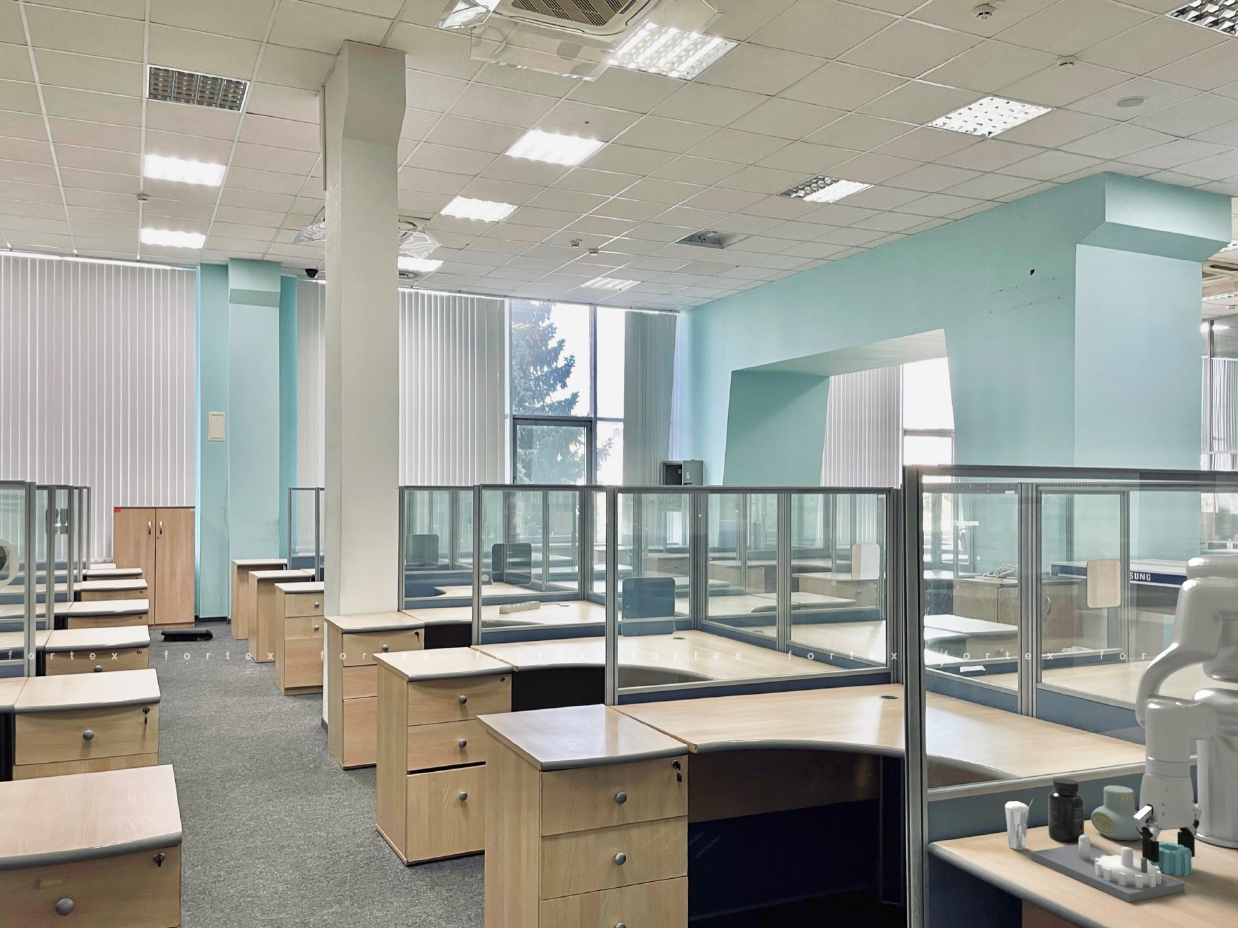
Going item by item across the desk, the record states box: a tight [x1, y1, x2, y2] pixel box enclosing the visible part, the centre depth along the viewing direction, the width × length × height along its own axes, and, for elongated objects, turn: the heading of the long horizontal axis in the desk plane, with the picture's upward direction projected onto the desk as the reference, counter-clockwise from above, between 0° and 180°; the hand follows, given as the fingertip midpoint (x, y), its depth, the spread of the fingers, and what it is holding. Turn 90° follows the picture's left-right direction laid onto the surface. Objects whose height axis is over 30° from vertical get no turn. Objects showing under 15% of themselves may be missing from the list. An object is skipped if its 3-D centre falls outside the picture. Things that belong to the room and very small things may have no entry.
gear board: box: [1030, 834, 1185, 903], centre depth 179 cm, size 14×22×6 cm, turn 22°
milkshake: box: [1004, 798, 1034, 851], centre depth 193 cm, size 4×5×10 cm
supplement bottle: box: [1047, 777, 1085, 844], centre depth 199 cm, size 7×7×12 cm
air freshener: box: [1090, 784, 1142, 841], centre depth 201 cm, size 11×8×10 cm
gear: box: [1147, 840, 1193, 877], centre depth 182 cm, size 7×7×4 cm
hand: (1168, 857), depth 182 cm, fingers open, 9 cm apart
